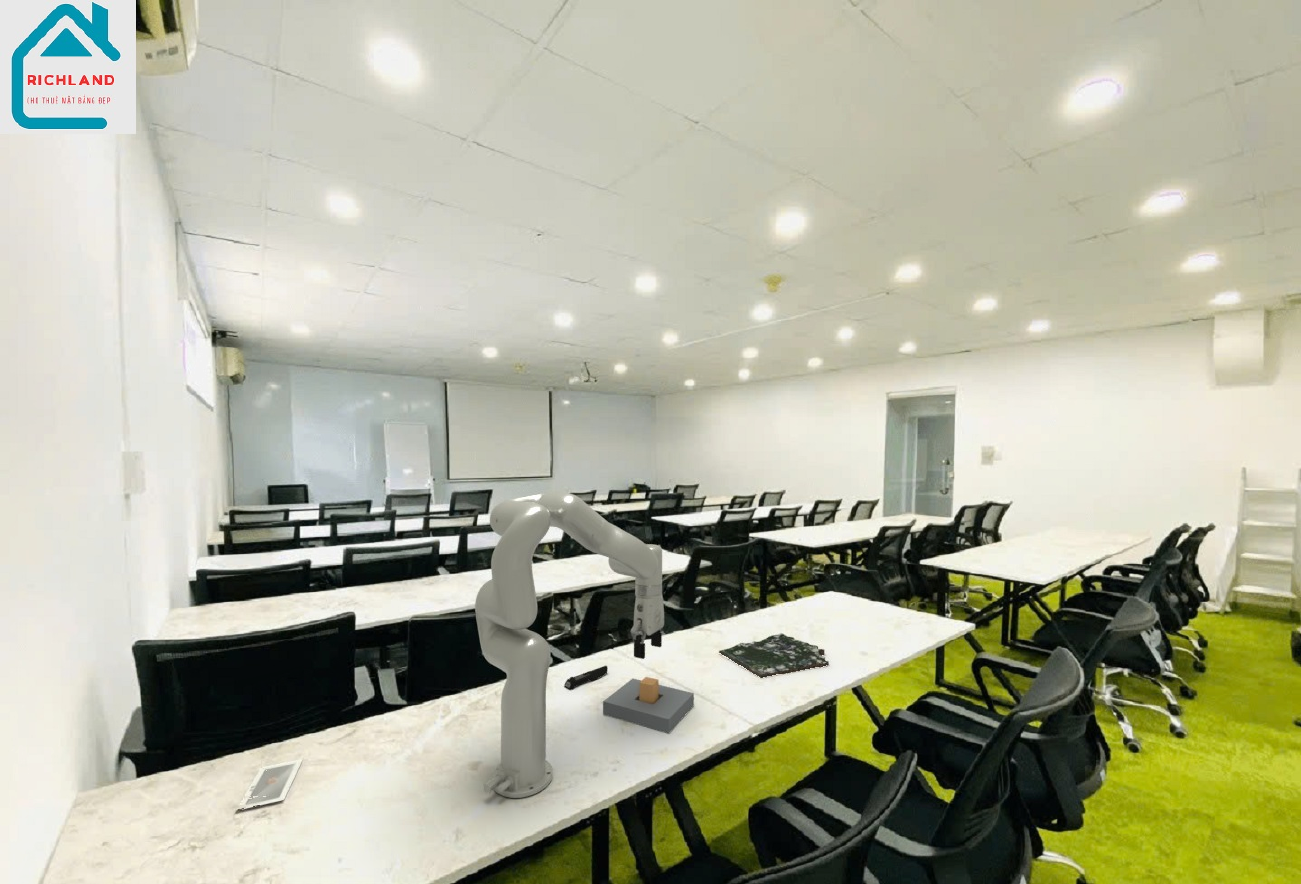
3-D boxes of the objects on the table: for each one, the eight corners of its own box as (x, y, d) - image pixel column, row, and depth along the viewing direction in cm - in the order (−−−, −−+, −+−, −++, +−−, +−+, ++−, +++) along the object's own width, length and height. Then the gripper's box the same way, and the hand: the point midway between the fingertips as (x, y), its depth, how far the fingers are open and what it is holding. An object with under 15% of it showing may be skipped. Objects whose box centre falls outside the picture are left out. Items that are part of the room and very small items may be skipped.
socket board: (668, 733, 124) (668, 719, 125) (603, 714, 134) (603, 701, 134) (693, 705, 139) (693, 693, 139) (632, 690, 148) (632, 678, 148)
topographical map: (719, 655, 176) (719, 646, 176) (787, 639, 191) (787, 631, 191) (768, 684, 153) (768, 674, 153) (841, 663, 168) (841, 654, 168)
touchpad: (302, 763, 113) (303, 754, 113) (283, 805, 100) (284, 794, 100) (261, 772, 110) (261, 762, 110) (235, 816, 97) (235, 805, 97)
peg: (652, 715, 133) (652, 685, 134) (639, 712, 135) (639, 682, 135) (658, 708, 137) (658, 679, 137) (645, 705, 139) (645, 677, 139)
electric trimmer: (610, 676, 158) (610, 666, 159) (570, 691, 148) (570, 681, 148) (603, 673, 161) (603, 663, 161) (563, 687, 151) (563, 677, 151)
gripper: (645, 598, 128) (644, 665, 127) (674, 584, 143) (673, 644, 142) (620, 594, 132) (620, 659, 131) (651, 581, 147) (650, 640, 146)
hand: (648, 651), depth 137 cm, fingers open, 9 cm apart
